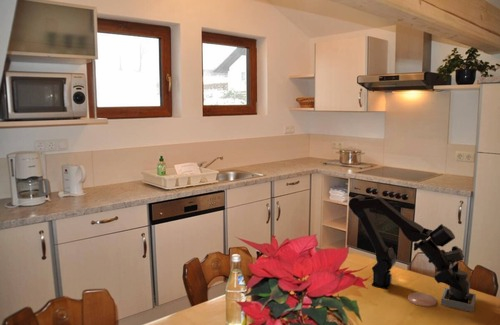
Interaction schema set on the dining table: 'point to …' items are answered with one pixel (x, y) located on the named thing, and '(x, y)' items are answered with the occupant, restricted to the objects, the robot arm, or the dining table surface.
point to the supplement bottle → (465, 284)
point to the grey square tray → (458, 304)
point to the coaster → (422, 299)
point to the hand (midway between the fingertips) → (463, 287)
